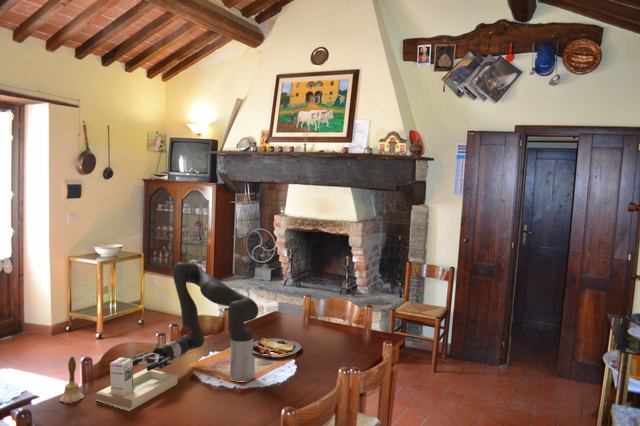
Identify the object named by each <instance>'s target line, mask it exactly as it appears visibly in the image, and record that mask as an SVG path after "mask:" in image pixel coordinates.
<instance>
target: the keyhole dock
mask: <svg viewBox="0 0 640 426" xmlns="http://www.w3.org/2000/svg"><path fill="white" fill-rule="evenodd" d="M176 385H178V375H177V374H174V373H169V372H165V371H160V370H156V369H152V370H150V371H147V367H146V368H144V369H142V370H140V371H138V372H135V373H133V393H131V394H129V395H127V396H125V397H119V396H115V395H111V385H109V386H107V387H105V388H102V389H101V390H99V391H97V392H95V402H96V401H99V402H102V403H106V404H109V405H111V406H110V407H112V406H114V407H113V408H116V407H117V408H116V409H119V408H120V410H123V409H124V411H126V410H127V412H130V411H132V410H134V409H135V408H137V407H139V406H141V405H142V404H144V403H146V402H148V401H150V400H152V399H153V398H155V397H157V396H158V395H160V394H162V393H164V392H165V391H167V390H169V389H171V388H172V387H174V386H176ZM109 405H108V406H109Z"/></svg>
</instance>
